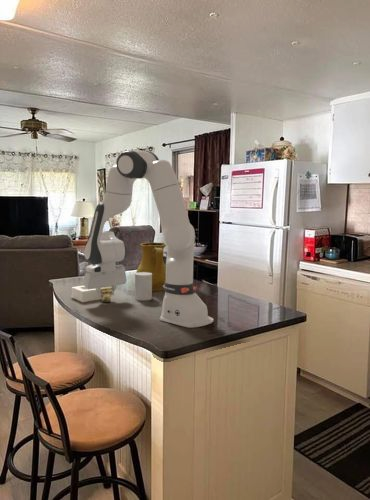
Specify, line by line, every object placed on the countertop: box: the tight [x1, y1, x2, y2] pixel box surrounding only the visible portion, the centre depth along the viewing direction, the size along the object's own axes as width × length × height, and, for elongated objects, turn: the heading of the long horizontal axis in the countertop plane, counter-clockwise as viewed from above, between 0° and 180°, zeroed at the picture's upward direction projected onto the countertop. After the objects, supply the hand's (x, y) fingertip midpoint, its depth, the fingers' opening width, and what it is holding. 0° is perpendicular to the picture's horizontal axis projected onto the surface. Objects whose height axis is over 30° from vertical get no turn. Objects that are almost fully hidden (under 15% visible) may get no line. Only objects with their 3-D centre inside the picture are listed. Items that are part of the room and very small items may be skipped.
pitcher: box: [135, 241, 167, 292], centre depth 208 cm, size 17×19×25 cm
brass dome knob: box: [100, 286, 113, 303], centre depth 182 cm, size 6×6×6 cm
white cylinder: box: [134, 272, 153, 301], centre depth 190 cm, size 8×8×12 cm
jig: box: [71, 285, 101, 303], centre depth 188 cm, size 11×11×5 cm
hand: (106, 296), depth 182 cm, fingers closed on brass dome knob, 4 cm apart
